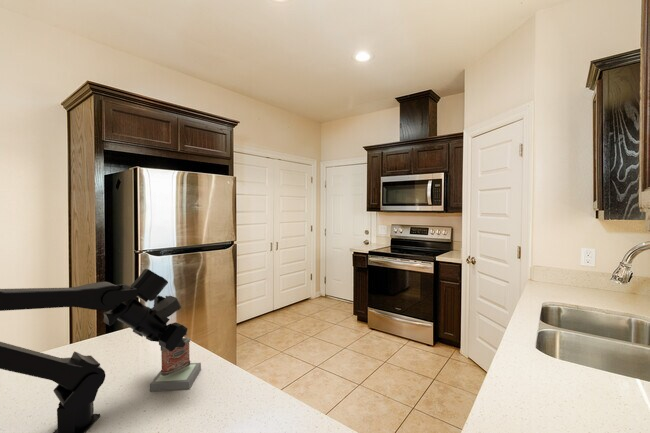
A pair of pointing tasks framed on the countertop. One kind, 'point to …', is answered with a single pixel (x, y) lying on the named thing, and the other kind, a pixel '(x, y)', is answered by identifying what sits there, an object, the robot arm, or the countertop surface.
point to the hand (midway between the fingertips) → (180, 343)
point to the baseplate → (176, 379)
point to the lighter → (175, 358)
